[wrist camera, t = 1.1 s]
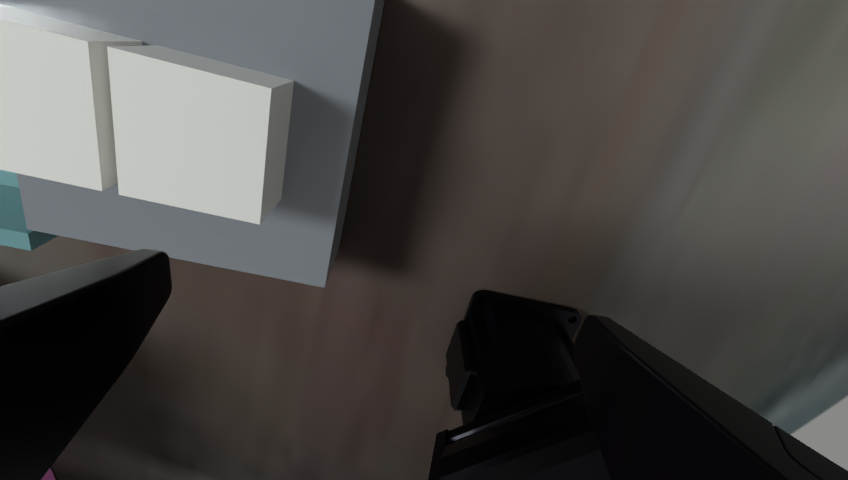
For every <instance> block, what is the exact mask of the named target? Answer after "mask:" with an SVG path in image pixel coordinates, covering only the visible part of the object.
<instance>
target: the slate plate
mask: <svg viewBox="0 0 848 480" xmlns="http://www.w3.org/2000/svg"><path fill="white" fill-rule="evenodd" d="M384 1H385V0H0V4H1V5H5V6H9V7H13V8H16V9H20V10H24V11H28V12H32V13H36V14H40V15H43V16H47V17H51V18H55V19H59V20H63V21H66V22H70V23H74V24H78V25H82V26H86V27H90V28H93V29H97V30H101V31H105V32H109V33H113V34H116V35H120V36H124V37H128V38H132V39H136V40H140V41H142V46H147V45H159V46H163V47H166V48H170V49H174V50H178V51H182V52H186V53H190V54H193V55H197V56H201V57H205V58H209V59H213V60H216V61H220V62H224V63H228V64H232V65H236V66H240V67H243V68H247V69H251V70H255V71H259V72H263V73H266V74H270V75H274V76H278V77H282V78H286V79H290V80H293V81H294V85H293V95H292V104H291V113H290V123H289V132H288V141H287V151H286V160H285V169H284V179H283V188H282V197H281V200H280V201H279V202H278V203H277V205H276V206H275V207H274V208H273V209H272V211H271V212H270V213H269V214H268V216H267V217H266V218H265V219H264V220H263V222H262V223H261V224H260V225H259V224H254V223H250V222H245V221H240V220H236V219H231V218H226V217H221V216H217V215H212V214H207V213H202V212H198V211H193V210H188V209H184V208H179V207H174V206H169V205H165V204H160V203H155V202H151V201H146V200H141V199H136V198H132V197H127V196H122V195H119V191H118V184H116V185H114V186H112V187H110V188H108V189H106V190H104V191H99V190H94V189H89V188H85V187H80V186H75V185H70V184H66V183H61V182H56V181H51V180H47V179H42V178H37V177H33V176H28V175H23V174H18V173H16V174H17V179H18V184H19V190H20V195H21V200H22V205H23V211H24V216H25V221H26V226H27V229H28V230H33V231H38V232H43V233H48V234H53V235H58V236H63V237H68V238H74V239H79V240H84V241H89V242H94V243H99V244H104V245H109V246H114V247H119V248H125V249H130V250H139V249H146V248H147V249H153V250H160V251H164V252H166V253H167V254H168V256H169V257H171V258H176V259H181V260H186V261H191V262H196V263H201V264H206V265H211V266H216V267H222V268H227V269H232V270H237V271H242V272H247V273H252V274H257V275H262V276H267V277H273V278H278V279H283V280H288V281H293V282H298V283H303V284H308V285H313V286H318V287H324V288H325V286H326V283H327V280H328V277H329V274H330V271H331V269H332V266H333V263H334V260H335V257H336V255H337V252H338V249H339V246H340V241H341V235H342V230H343V224H344V219H345V214H346V208H347V203H348V197H349V192H350V186H351V181H352V175H353V170H354V164H355V159H356V154H357V148H358V143H359V137H360V132H361V126H362V121H363V115H364V110H365V105H366V99H367V94H368V88H369V83H370V77H371V72H372V66H373V61H374V56H375V50H376V45H377V39H378V34H379V28H380V23H381V17H382V12H383V7H384Z"/></svg>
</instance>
